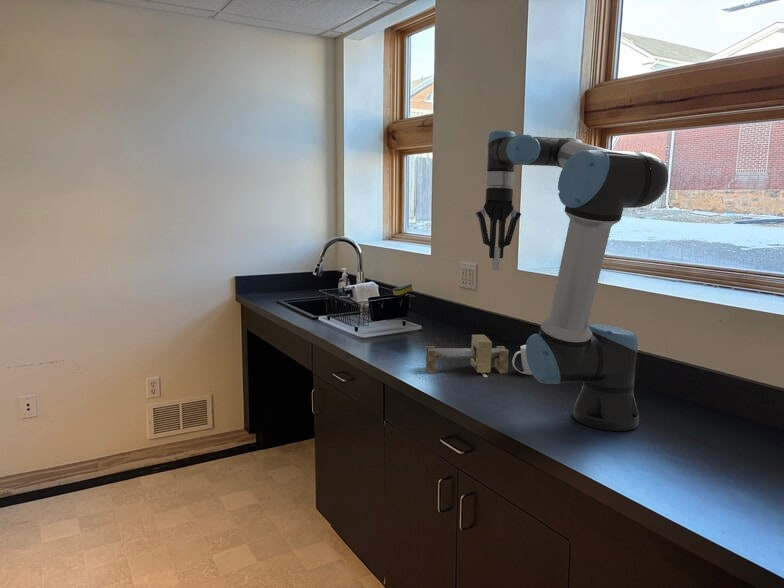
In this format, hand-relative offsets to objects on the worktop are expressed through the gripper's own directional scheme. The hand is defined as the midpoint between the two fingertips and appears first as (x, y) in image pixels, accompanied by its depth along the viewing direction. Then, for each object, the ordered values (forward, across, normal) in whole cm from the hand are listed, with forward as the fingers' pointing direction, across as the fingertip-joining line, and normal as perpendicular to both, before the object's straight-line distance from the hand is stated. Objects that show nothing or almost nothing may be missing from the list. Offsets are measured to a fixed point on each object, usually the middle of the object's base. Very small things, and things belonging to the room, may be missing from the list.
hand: (495, 269), depth 175 cm
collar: (+32, +2, -6) cm, 33 cm away
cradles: (+32, +6, -6) cm, 33 cm away
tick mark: (+32, +1, -6) cm, 33 cm away
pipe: (+29, +6, -6) cm, 30 cm away
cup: (+33, -12, -3) cm, 35 cm away
